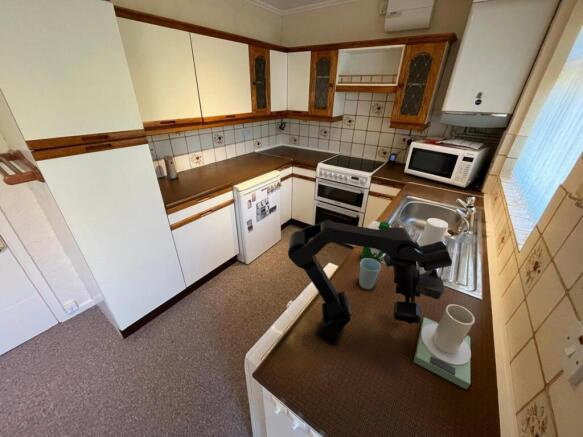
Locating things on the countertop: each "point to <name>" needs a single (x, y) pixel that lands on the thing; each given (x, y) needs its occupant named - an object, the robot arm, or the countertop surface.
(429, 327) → the kitchen scale
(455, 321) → the beaker
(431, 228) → the cylindrical container
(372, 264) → the cup
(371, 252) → the milk carton
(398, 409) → the countertop surface
